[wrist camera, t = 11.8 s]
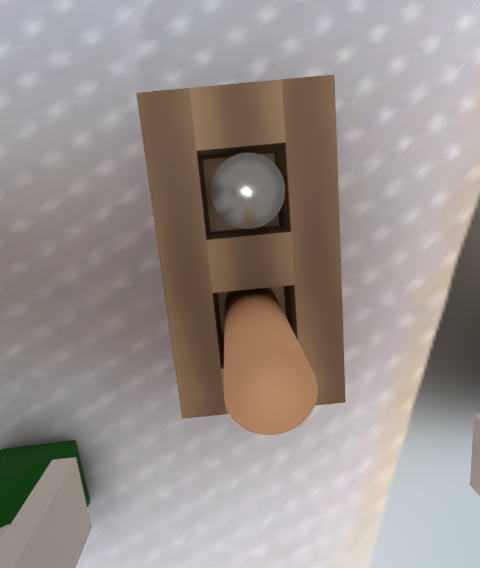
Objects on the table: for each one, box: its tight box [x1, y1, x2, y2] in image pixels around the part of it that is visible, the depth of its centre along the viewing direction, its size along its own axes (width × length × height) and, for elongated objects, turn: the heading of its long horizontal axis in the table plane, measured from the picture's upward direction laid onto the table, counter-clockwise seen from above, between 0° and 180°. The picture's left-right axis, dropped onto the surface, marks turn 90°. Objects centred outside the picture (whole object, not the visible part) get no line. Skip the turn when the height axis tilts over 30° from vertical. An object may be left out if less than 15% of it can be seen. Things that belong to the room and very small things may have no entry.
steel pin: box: [211, 153, 285, 229], centre depth 26 cm, size 4×4×10 cm
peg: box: [224, 287, 318, 435], centre depth 25 cm, size 4×4×15 cm
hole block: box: [137, 75, 345, 418], centre depth 29 cm, size 12×22×7 cm, turn 5°
